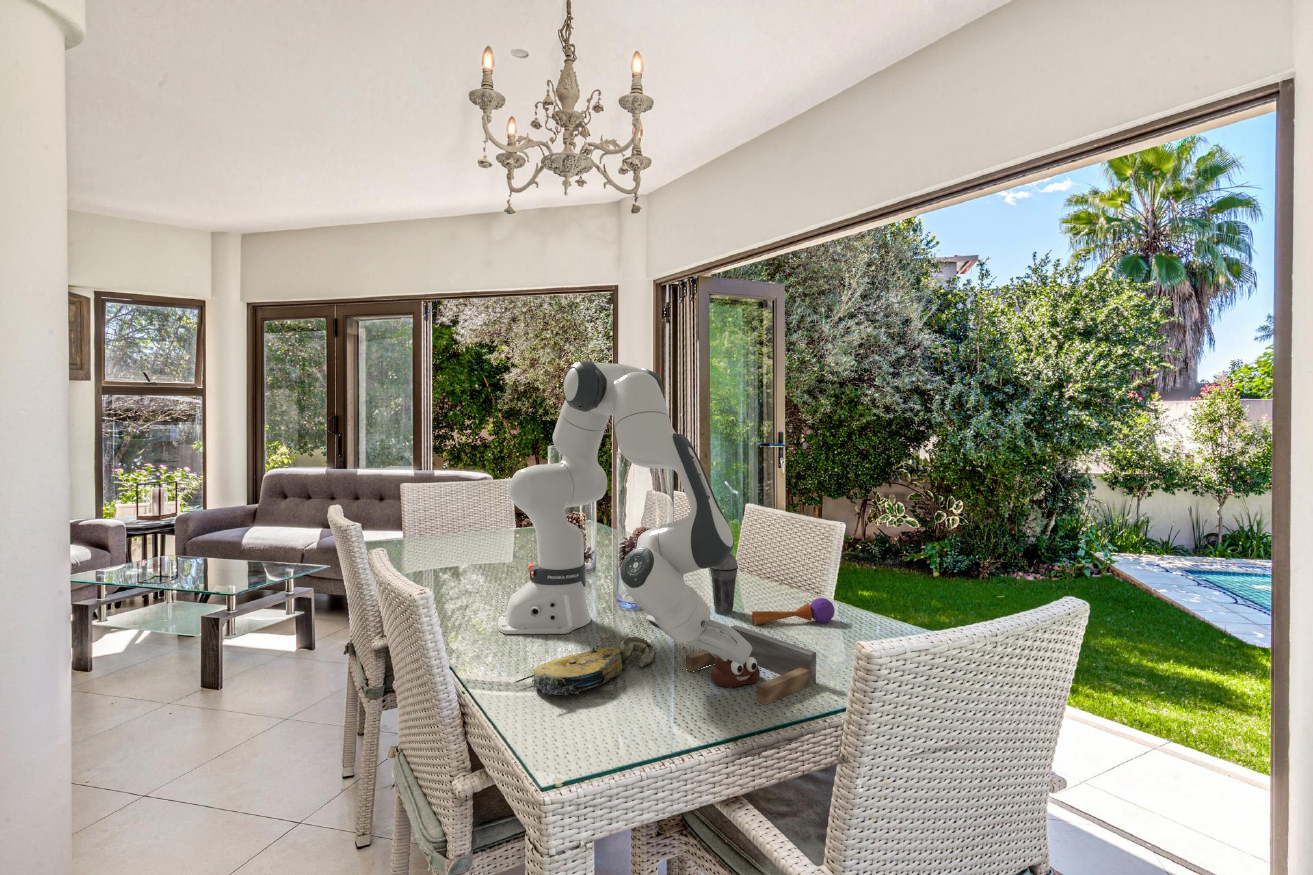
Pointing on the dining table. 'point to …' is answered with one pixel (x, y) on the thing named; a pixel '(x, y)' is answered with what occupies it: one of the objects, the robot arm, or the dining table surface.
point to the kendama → (799, 612)
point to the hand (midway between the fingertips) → (722, 655)
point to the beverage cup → (724, 585)
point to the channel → (770, 664)
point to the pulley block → (589, 667)
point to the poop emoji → (734, 672)
